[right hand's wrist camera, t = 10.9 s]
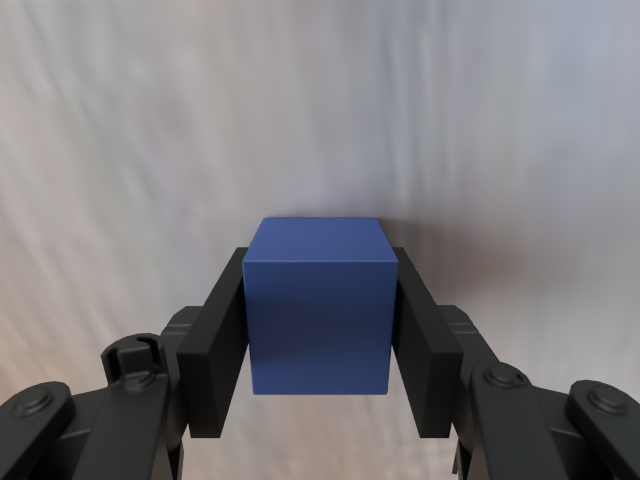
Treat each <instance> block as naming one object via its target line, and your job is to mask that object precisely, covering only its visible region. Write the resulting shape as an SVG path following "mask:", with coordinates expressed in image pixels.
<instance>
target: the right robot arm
mask: <svg viewBox="0 0 640 480" xmlns="http://www.w3.org/2000/svg"><path fill="white" fill-rule="evenodd" d="M248 249H249V247H237V249H236V250H235V252H234V254H233V255H232V257H231V259H230V261H229V262H228V264H227V266H226V267H225V269H224V271H223V273H222V274H221V276H220V278H219V279H218V281H217V283H216V285H215V286H214V288H213V290H212V291H211V293H210V295H209V297H208V298H207V300H206V302H205V303H204V305H203V306H186V307H184V308H183V309H181V310H180V311H179V312H177V313H176V314H174V315H173V317H172V318H171V320H170V321H169V323H168V324H167V327H165V328H164V330H163V331H162V333H161V335H160V336H158V335H155V334H151V333H141V334H135V335H131V336H127V337H124V338H122V339H120V340H118V341H115V342H114V343H113V344H111V345H110V346H108V347H107V348H106V349H105V350H104V352H103V353H102V354H101V359H102V363H103V366H104V370H105V374H106V377H107V381H108V387H106V388H103V389H99V390H95V391H91V392H86V393H82V394H77V395H73V396H72V395H71V392H70V388H69V387H68V386H67V385H66V384H65V383H63V382H56V381H52V382H45V383H40V384H37V385H34V386H31V387H29V388H26V389H25V390H23V391H21V392H19V393H17V394H15V395H14V396H12V397H11V398H10V399H9V400H7V401H6V402H5V403H3V404H2V405H1V406H0V480H181V478H182V467H183V457H184V450H183V443H182V437H183V434H184V432H185V429H186V427H187V424H189V430H190V435H191V438H220V436H221V433H222V429H223V426H224V423H225V419H226V416H227V413H228V409H229V406H230V403H231V399H232V396H233V393H234V389H235V386H236V383H237V380H238V376H239V373H240V370H241V366H242V363H243V360H244V356H245V353H246V350H247V346H248V343H249V339H248V327H247V315H246V304H245V292H244V281H243V269H242V261H243V259H244V257H245V255H246V253H247V251H248ZM392 249H393V251H394V253H395V255H396V257H397V259H398V261H399V265H398V277H397V288H396V300H395V311H394V323H393V334H392V346H393V350H394V353H395V356H396V360H397V363H398V366H399V370H400V373H401V376H402V380H403V383H404V386H405V390H406V393H407V396H408V400H409V403H410V406H411V409H412V413H413V416H414V419H415V423H416V426H417V429H418V433H419V436H420V438H449V435H450V430H451V424H452V423H453V425H454V428H455V430H456V432H457V435H458V437H459V438H458V443H457V449H456V454H455V459H454V464H453V471H452V474H456V475H457V470H458V477H459V480H640V404H639V403H638V402H637V401H635V400H634V399H633V398H631V397H630V396H629V395H628V394H626V393H624V392H623V391H621V390H619V389H617V388H615V387H613V386H611V385H608V384H605V383H602V382H599V381H592V380H581V381H576V382H575V383H574V384H573V385H571V388H570V391H569V394H565V393H561V392H556V391H552V390H547V389H543V388H539V387H536V386H532V384H531V382H530V381H529V379H528V378H527V376H526V375H525V374H523V373H522V372H521V371H520V370H518V369H517V368H515V367H513V366H511V365H509V364H507V363H503V362H500V361H499V360H498V358H497V357H496V355H495V354H494V353H493V351H492V350H491V348H490V347H489V345H488V344H487V343H486V341H485V340H484V338H483V337H482V335H481V334H479V331H478V330H477V328H476V327H475V326H473V323H472V321H471V320H470V318H469V317H468V315H467V314H466V313H465V312H463V311H462V310H460V309H459V308H457V307H456V306H455V305H436V304H435V302H434V300H433V298H432V297H431V295H430V293H429V292H428V290H427V288H426V286H425V285H424V283H423V281H422V279H421V278H420V276H419V274H418V273H417V271H416V269H415V267H414V266H413V264H412V262H411V261H410V259H409V257H408V255H407V254H406V252H405V250H404V249H403V247H392Z"/></svg>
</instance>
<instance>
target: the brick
mask: <svg viewBox="0 0 640 480" xmlns="http://www.w3.org/2000/svg"><path fill="white" fill-rule="evenodd" d="M398 265H399V261H398V259H397V257H396V255H395V253H394V251H393V249H392V247H391V245H390V243H389V241H388V239H387V237H386V235H385V233H384V231H383V229H382V227H381V225H380V223H379V221H378V219H377V218H264V219H263V220H262V222H261V224H260V226H259V228H258V230H257V232H256V234H255V236H254V238H253V240H252V242H251V245H250V247H249V249H248V251H247V253H246V255H245V257H244V259H243V261H242V269H243V281H244V292H245V304H246V315H247V327H248V339H249V350H250V362H251V373H252V385H253V393H254V394H255V395H386V394H387V391H388V380H389V368H390V357H391V346H392V334H393V323H394V311H395V300H396V288H397V277H398Z"/></svg>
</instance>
